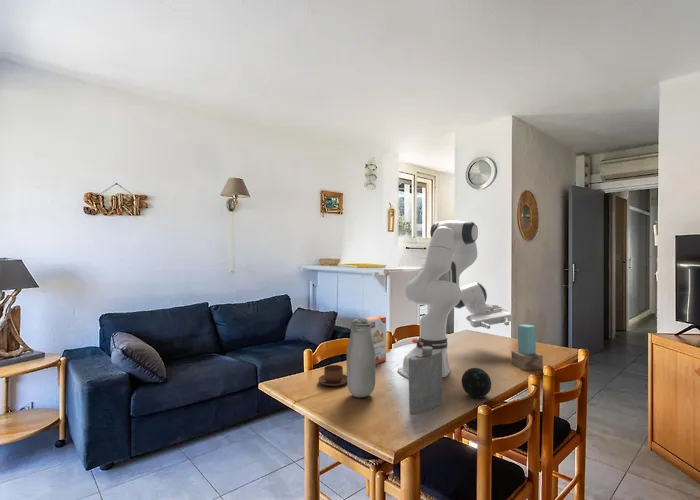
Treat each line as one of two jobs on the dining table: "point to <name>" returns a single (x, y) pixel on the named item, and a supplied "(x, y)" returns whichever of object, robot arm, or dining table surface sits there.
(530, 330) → the teal block
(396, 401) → the dining table surface
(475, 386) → the decorative stone
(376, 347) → the cracker box
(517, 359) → the walnut base
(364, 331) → the glass bottle
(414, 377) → the hip flask
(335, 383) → the cup and saucer
